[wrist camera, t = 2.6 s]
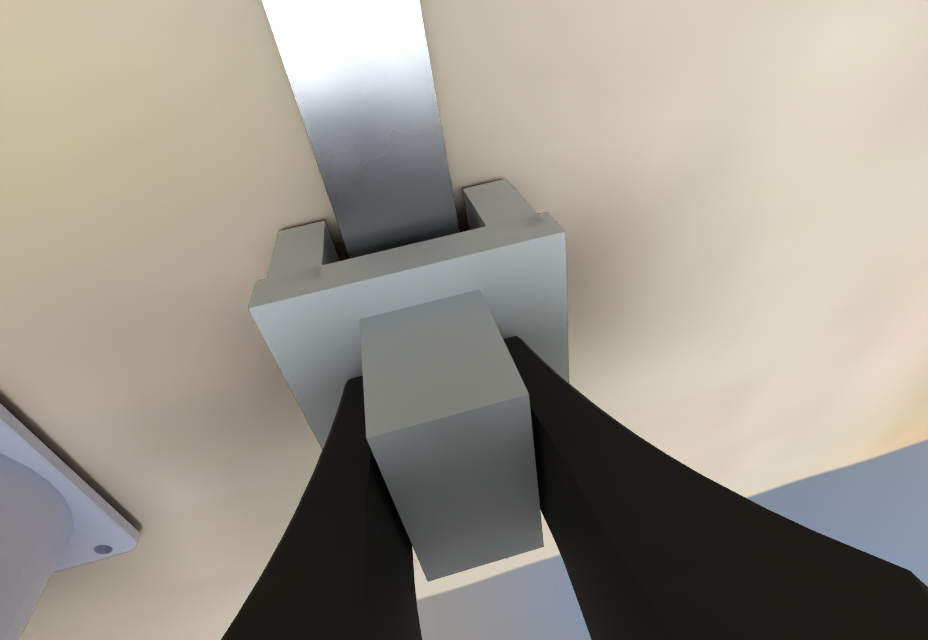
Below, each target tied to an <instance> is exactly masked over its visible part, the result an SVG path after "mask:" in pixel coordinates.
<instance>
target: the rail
mask: <svg viewBox="0 0 928 640" xmlns="http://www.w3.org/2000/svg"><path fill="white" fill-rule="evenodd" d="M262 2H263V5H264V8H265V11H266V14H267V17H268V20H269V23H270V26H271V29H272V32H273V35H274V38H275V40H276V43H277V46H278V49H279V52H280V55H281V58H282V61H283V64H284V67H285V70H286V73H287V76H288V79H289V82H290V85H291V87H292V90H293V93H294V96H295V99H296V102H297V105H298V108H299V111H300V114H301V117H302V120H303V123H304V126H305V129H306V132H307V134H308V137H309V140H310V143H311V146H312V149H313V152H314V155H315V158H316V161H317V164H318V167H319V170H320V173H321V176H322V179H323V182H324V184H325V187H326V190H327V193H328V196H329V199H330V202H331V205H332V208H333V211H334V214H335V217H336V220H337V223H338V226H339V229H340V231H341V234H342V237H343V240H344V243H345V246H346V249H347V252H348V255H349V258H350V259H351V258H355V257H359V256H364V255H368V254H372V253H376V252H380V251H385V250H389V249H393V248H397V247H401V246H406V245H410V244H414V243H418V242H422V241H426V240H431V239H435V238H439V237H443V236H447V235H452V234H456V233H460V232H459V226H458V220H457V214H456V209H455V203H454V197H453V191H452V186H451V180H450V174H449V168H448V162H447V157H446V151H445V145H444V139H443V134H442V128H441V122H440V116H439V110H438V105H437V99H436V93H435V87H434V82H433V76H432V70H431V64H430V58H429V53H428V47H427V41H426V35H425V30H424V24H423V18H422V12H421V7H420V1H419V0H262Z"/></svg>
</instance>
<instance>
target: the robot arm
mask: <svg viewBox="0 0 928 640" xmlns="http://www.w3.org/2000/svg"><path fill="white" fill-rule="evenodd" d="M503 340H504V342H505V344H506V346H507V349H508V351H509V353H510V355H511V357H512V359H513V361H514V363H515V366H516V368H517V370H518V372H519V374H520V376H521V378H522V380H523V383H524V385H525V387H526V389H527V391H528V393H529V400H530V410H531V421H532V431H533V441H534V451H535V462H536V472H537V482H538V492H539V502H540V509H541V512H542V514H543V516H544V518H545V520H546V522H547V524H548V527H549V529H550V531H551V533H552V535H553V537H554V540H555V542H556V544H557V547H558V549H559V551H560V554H561V556H562V558H563V561H564V564H565V566H566V569H567V572H568V575H569V578H570V580H571V583H572V586H573V589H574V591H575V594H576V597H577V600H578V602H579V605H580V608H581V611H582V614H583V617H584V619H585V622H586V625H587V628H588V631H589V633H590V636H591V639H592V640H928V587H927V586H926V585H925V584H924V583H923V582H922V581H920V580H919V579H918V578H917V577H916V576H915V575H914V574H913V573H912V572H911V571H909V570H907V569H904V568H902V567H899V566H897V565H895V564H892V563H890V562H887V561H885V560H882V559H880V558H878V557H875V556H873V555H870V554H868V553H866V552H863V551H861V550H858V549H856V548H854V547H851V546H849V545H846V544H844V543H841V542H839V541H837V540H834V539H832V538H829V537H827V536H825V535H822V534H820V533H817V532H815V531H813V530H811V529H808V528H806V527H804V526H802V525H800V524H798V523H795V522H794V521H791V520H789V519H787V518H785V517H783V516H781V515H779V514H777V513H774V512H772V511H770V510H768V509H766V508H764V507H762V506H760V505H758V504H756V503H754V502H752V501H750V500H749V499H747V498H745V497H743V496H741V495H739V494H737V493H735V492H733V491H732V490H730V489H728V488H726V487H724V486H722V485H720V484H718V483H716V482H714V481H712V480H711V479H709V478H707V477H705V476H703V475H701V474H699V473H698V472H696V471H694V470H693V469H691V468H689V467H687V466H686V465H684V464H682V463H681V462H679V461H677V460H676V459H674V458H672V457H670V456H669V455H667V454H666V453H664V452H663V451H661V450H659V449H658V448H656V447H655V446H653V445H651V444H650V443H648V442H647V441H645V440H644V439H642V438H641V437H639V436H638V435H636V434H635V433H633V432H632V431H630V430H629V429H628V428H626V427H625V426H623V425H622V424H620V423H619V422H618V421H616V420H615V419H614V418H612V417H611V416H610V415H608V414H607V413H605V412H604V411H603V410H601V409H600V408H599V407H597V406H596V405H595V404H594V403H592V402H591V401H590V400H588V399H587V398H586V397H585V396H584V395H582V394H581V393H580V392H579V391H578V390H576V389H575V388H574V387H573V386H571V385H570V384H569V383H568V382H567V381H565V380H564V379H563V378H562V377H561V376H560V375H559V374H557V373H556V372H555V371H554V370H553V369H552V368H551V367H550V366H549V365H547V364H546V363H545V362H544V361H543V360H542V359H541V358H540V357H539V356H538V355H537V354H536V353H535V352H534V351H533V350H532V349H531V348H530V347H529V346H528V345H527V344H526V343H525V342H524V341H523V340H522V339H521V338H519V337H517V336H513V337H509V338H505V339H503ZM139 537H140V533H139V532H138V531H137V530H136V529H135V528H134V527H133V526H132V525H131V524H130V523H129V522H128V521H127V520H126V519H124V518H123V517H122V516H121V515H120V514H119V513H118V512H117V511H116V510H115V509H114V508H113V507H112V506H110V505H109V504H108V503H107V502H106V501H105V500H104V499H103V498H102V497H101V496H100V495H99V494H97V493H96V492H95V491H94V490H93V489H92V488H91V487H90V486H89V485H88V484H87V483H86V482H85V481H83V480H82V479H81V478H80V477H79V476H78V475H77V474H76V473H75V472H74V471H73V470H72V469H70V468H69V467H68V466H67V465H66V464H65V463H64V462H63V461H62V460H61V459H60V458H59V457H58V456H56V455H55V454H54V453H53V452H52V451H51V450H50V449H49V448H48V447H47V446H46V445H45V444H43V443H42V442H41V441H40V440H39V439H38V438H37V437H36V436H35V435H34V434H33V433H32V432H31V431H29V430H28V429H27V428H26V427H25V426H24V425H23V424H22V423H21V422H20V421H19V420H18V419H16V418H15V417H14V416H13V415H12V414H11V413H10V412H9V411H8V410H7V409H6V408H5V407H4V406H2V405H1V404H0V640H19V639H20V637H21V635H22V633H23V631H24V629H25V627H26V625H27V623H28V621H29V619H30V617H31V615H32V613H33V611H34V609H35V607H36V605H37V603H38V601H39V599H40V597H41V595H42V593H43V591H44V589H45V587H46V585H47V583H48V581H49V579H50V577H51V575H52V573H53V572H57V571H60V570H64V569H68V568H71V567H75V566H78V565H82V564H85V563H89V562H93V561H96V560H100V559H103V558H107V557H110V556H114V555H118V554H121V553H125V552H128V551H130V550H132V549H134V548H135V547H136V546H137V543H138V540H139ZM221 640H422V637H421V630H420V624H419V617H418V611H417V602H416V593H415V583H414V567H413V552H412V544H411V541H410V539H409V537H408V534H407V532H406V530H405V527H404V525H403V523H402V520H401V518H400V516H399V513H398V511H397V509H396V506H395V504H394V502H393V499H392V497H391V495H390V492H389V490H388V488H387V485H386V483H385V481H384V478H383V476H382V474H381V471H380V469H379V467H378V464H377V462H376V460H375V457H374V455H373V453H372V450H371V448H370V446H369V443H368V441H367V439H366V423H365V406H364V388H363V376H359V377H355V378H351V379H349V380H348V381H347V382H346V384H345V387H344V390H343V394H342V397H341V400H340V403H339V406H338V410H337V413H336V415H335V418H334V421H333V424H332V427H331V430H330V432H329V435H328V438H327V440H326V443H325V445H324V448H323V450H322V453H321V455H320V458H319V460H318V463H317V465H316V468H315V470H314V472H313V475H312V477H311V479H310V481H309V483H308V485H307V488H306V490H305V492H304V494H303V496H302V498H301V501H300V503H299V505H298V507H297V509H296V511H295V513H294V515H293V517H292V519H291V521H290V523H289V525H288V527H287V529H286V531H285V533H284V535H283V537H282V539H281V541H280V543H279V544H278V546H277V548H276V550H275V552H274V553H273V555H272V557H271V559H270V561H269V562H268V564H267V566H266V568H265V569H264V571H263V573H262V575H261V576H260V578H259V580H258V581H257V583H256V585H255V586H254V588H253V589H252V591H251V593H250V594H249V596H248V598H247V599H246V601H245V603H244V604H243V606H242V608H241V609H240V611H239V613H238V614H237V616H236V617H235V619H234V620H233V622H232V624H231V625H230V627H229V628H228V630H227V631H226V633H225V634H224V636H223V637H222V639H221Z"/></svg>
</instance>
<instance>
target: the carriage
mask: <svg viewBox="0 0 928 640" xmlns="http://www.w3.org/2000/svg"><path fill="white" fill-rule="evenodd" d="M463 193H464V199H465V206H466V212H467V218H468V224H469V230H468V231H464V232H460V233H456V234H452V235H447V236H443V237H439V238H435V239H431V240H426V241H422V242H418V243H414V244H410V245H406V246H401V247H397V248H393V249H389V250H385V251H380V252H376V253H372V254H368V255H364V256H359V257H355V258H351V259H347V260H343V261H339V259H338V256H337V253H336V250H335V247H334V245H333V242H332V239H331V236H330V233H329V231H328V228H327V225H326V222H325V221H321V222H316V223H312V224H308V225H303V226H299V227H295V228H290V229H286V230H282V231H279V232H278V236H277V240H276V244H275V247H274V251H273V255H272V259H271V263H270V267H269V270H268V274H267V278H266V279H263V280H259V281H256V283H255V287H254V290H253V293H252V297H251V300H250V303H249V307H248V310H249V312H250V313H251V315H252V317H253V319H254V321H255V323H256V325H257V327H258V329H259V331H260V332H261V334H262V336H263V338H264V340H265V342H266V344H267V346H268V348H269V349H270V351H271V353H272V355H273V357H274V359H275V361H276V363H277V365H278V367H279V368H280V370H281V372H282V374H283V376H284V378H285V380H286V382H287V384H288V385H289V387H290V389H291V391H292V393H293V395H294V397H295V399H296V401H297V403H298V404H299V406H300V408H301V410H302V412H303V414H304V416H305V418H306V420H307V421H308V423H309V425H310V427H311V429H312V431H313V433H314V435H315V437H316V439H317V440H318V442H319V444H320V446H321V448H322V450H323V448H324V445H325V443H326V440H327V438H328V435H329V432H330V430H331V427H332V424H333V421H334V418H335V415H336V413H337V410H338V406H339V403H340V400H341V397H342V394H343V390H344V387H345V384H346V382H347V381H348V380H349V379H351V378H355V377H359V376H363V388H364V406H365V423H366V439H367V441H368V443H369V446H370V448H371V450H372V453H373V455H374V457H375V460H376V462H377V464H378V467H379V469H380V471H381V474H382V476H383V478H384V481H385V483H386V485H387V488H388V490H389V492H390V495H391V497H392V499H393V502H394V504H395V506H396V509H397V511H398V513H399V516H400V518H401V520H402V523H403V525H404V527H405V530H406V532H407V534H408V537H409V539H410V541H411V544H412V546H413V548H414V551H415V553H416V555H417V558H418V560H419V562H420V565H421V567H422V569H423V572H424V574H425V576H426V579H427V581H431V580H435V579H438V578H441V577H445V576H448V575H451V574H455V573H458V572H461V571H465V570H468V569H471V568H475V567H478V566H481V565H484V564H488V563H491V562H494V561H498V560H501V559H504V558H508V557H511V556H514V555H518V554H521V553H524V552H528V551H531V550H534V549H538V548H541V547H544V543H543V533H542V523H541V513H540V502H539V492H538V482H537V472H536V462H535V451H534V441H533V431H532V421H531V410H530V400H529V393H528V391H527V389H526V387H525V385H524V383H523V380H522V378H521V376H520V374H519V372H518V370H517V368H516V366H515V363H514V361H513V359H512V357H511V355H510V353H509V351H508V349H507V346H506V344H505V342H504V340H503V339H505V338H509V337H513V336H517V337H519V338H521V339H522V340H523V341H524V342H525V343H526V344H527V345H528V346H529V347H530V348H531V349H532V350H533V351H534V352H535V353H536V354H537V355H538V356H539V357H540V358H541V359H542V360H543V361H544V362H545V363H546V364H547V365H549V366H550V367H551V368H552V369H553V370H554V371H555V372H556V373H557V374H559V375H560V376H561V377H562V378H563V379H564V380H565V381H567V382H568V383H569V359H568V318H567V276H566V235H565V231H564V229H563V228H562V227H561V226H560V225H559V224H558V223H557V222H556V221H555V220H554V219H553V218H552V217H551V216H550V215H549V214H548V213H547V212H544V213H540V214H537V213H536V212H535V211H534V209H533V208H532V207H531V206H530V205H529V204H528V203H527V202H526V201H525V199H524V198H523V197H522V196H521V195H520V194H519V193H518V192H517V190H516V189H515V188H514V187H513V186H512V185H511V184H510V183H509V182H508V180H507V179H503V180H498V181H494V182H490V183H485V184H481V185H477V186H472V187H468V188H464V189H463Z"/></svg>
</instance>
